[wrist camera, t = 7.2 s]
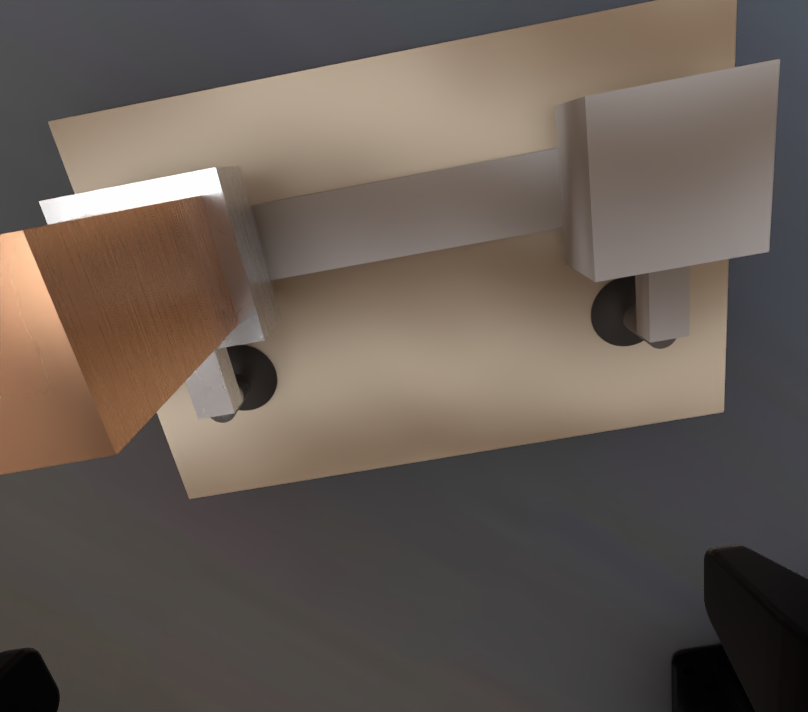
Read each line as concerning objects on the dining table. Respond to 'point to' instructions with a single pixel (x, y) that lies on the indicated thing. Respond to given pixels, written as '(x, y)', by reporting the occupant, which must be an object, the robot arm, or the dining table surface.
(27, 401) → the sliding leg
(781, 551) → the dining table surface
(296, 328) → the wooden base plate
